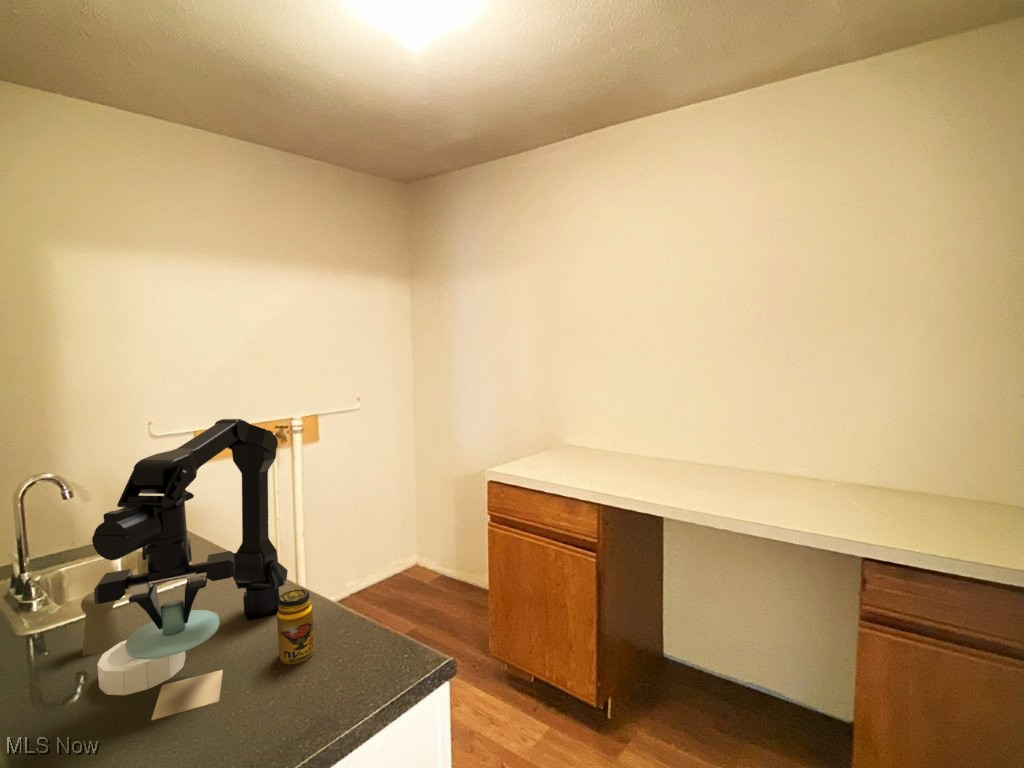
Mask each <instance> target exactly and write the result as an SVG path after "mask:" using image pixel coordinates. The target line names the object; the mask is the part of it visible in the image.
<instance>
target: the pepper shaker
mask: <svg viewBox="0 0 1024 768" xmlns="http://www.w3.org/2000/svg"><path fill="white" fill-rule="evenodd" d="M114 605H116V601H112V602H107V603H102V604H95V599H94V591H92V592H90V593H88V594H87V595H85V596H84V597H83V598H82V600H81V603H80V607H81V610H82V612H83V613H85V615H84V617H85V618H84V627H83V628H84V631H83V641H82V642H83V643H82V654H81V655H82V656H83V657H86V656H93V655H99V654H104V653H105V652H106V651H108V650H109V649H111V648H112V647H114V646H115V645H117V644H119V643H120V642H123V639H122V636H121V632H120V627H119V623H118V620H117V617H116V612H115V609H114Z"/></svg>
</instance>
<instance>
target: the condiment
mask: <svg viewBox="0 0 1024 768" xmlns="http://www.w3.org/2000/svg"><path fill="white" fill-rule="evenodd" d="M310 596H311V595H310V592H309V591H308V590H307V589H305V588H294V589H290V590H287V591H285V592H283V593H282V594H281V595H279V599H278V603H279V606H278V609H279V610H278V612H277V615H276V623H277V638H278V639H277V640H278V658H279V660H280V662H281V663H282V664H286V665H295V664H300V663H302V662H304V661H306V660H309V659H310V658H311V657H312V656H313V655H314V651H315V645H316V643H315V631H314V630H315V628H314V611H313V610H314V609H313V605H312V604H311V598H310Z"/></svg>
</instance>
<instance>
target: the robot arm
mask: <svg viewBox="0 0 1024 768" xmlns="http://www.w3.org/2000/svg"><path fill="white" fill-rule="evenodd" d="M278 446H279V440H278V438H277V436H276V434H274V433H273V431H272V430H269V429H266V428H262V427H261V426H260V427H259V426H257V425H254V424H251V423H249V422H247V421H246V420H244V419H241V418H222V419H220V420H217V421H216V422H215V423H214V424H213V425H212V426H211V427H208V429H206V430H204V431H203V432H201V433H200V434H198V435H196V436H195V437H193V438H191V439H190V440H188V441H186V442H184V444H182V445H180V446H179V447H176V448H174V449H171V450H168V451H163V452H159V453H154V454H153V455H149V456H148V457H144V458H142V459H140V460H139V461H137V463H135V465H134V466H133V470H132V472H131V474H130V476H129V478H128V480H127V483H126V484H125V487H124V489H123V491H122V493H121V496H120V498H119V500H118V502H117V504H116V505H117V508H119V509H116V510H111V511H107V512H105V513H104V514H103V521H102V522H101V523H100V524H99V525H97V527H96V528H95V530H94V532H93V536H92V537H91V541H92V547H93V549H94V550H95V551H96V553H97V555H99V556H100V557H101V558H103V559H105V560H108V561H116V560H120V559H121V558H123V557H126V556H128V555H129V554H132V553H134V552H136V551H137V550H140V549H141V557H142V560H143V561H146V566H147V567H146V568H147V572H145V573H138V574H134V572H133V569H132V568H128V569H122V570H116V571H111V572H106V573H104V574H103V576H102V577H101V578H100V579H99V581H97V584H96V585H95V587H94V589H93V592H94V599H95V604H102V603H107V602H112V601H115V602H116V601H120V600H121V599H122V598H124V596H125V595H126V593H127V591H126V590H128V591H129V597H128V602H129V603H131V604H132V603H137V604H138V606H140V607H141V608H142V609H143V610H144V611H145V612H146V613H147V615H148V616H149V617H150V619H151V621H153V622H154V623H155V625H156V626H157V627H158V629H162V620H161V608H160V607H161V604H160V600H159V599H160V598H159V596H158V586H157V585H158V584H160V583H166V582H171V581H177V580H181V579H186V583H185V588H184V600H183V601H184V623H187V622H188V619H189V615H190V611H191V610H192V606H193V604H194V601H195V599H196V598H197V597H196V596H197V594H198V593H199V590H201V589H204V588H206V587H207V583H208V580H210V581H211V582H215V581H221V580H226V579H230V578H231V579H233V581H234V582H235V586H236V587H237V589H239V590H240V589H245V592H244V593H243V596H242V597H243V601H242V602H243V614H244V616H245V617H246V621H248V622H250V621H254V620H259V619H263V618H267V617H272V616H277V612H278V610H279V609H278V606H279V603H278V599H279V597H280V587H283V586H285V585H286V584H285V582H286V581H287V579H288V569H287V568H286V567H284V565H282V563H280V562H279V560H278V559H279V558H278V551H277V548H276V547H275V546H274V544H273V542H271V540H270V538H269V537H270V536H269V470H270V468H271V467H272V465H273V464H274V462H275V460H276V458H277V448H278ZM226 449H228V450H230V451H231V455H232V461H233V463H234V464H235V466H236V468H237V470H238V471H240V473H241V533H242V535H241V537H242V539H241V540H242V541H241V544H240V545H239V547H238V549H237V550H236V552H232V551H231V550H228V551H221V552H216V553H210V554H207V559H206V561H204V562H198V563H194V564H190V563H191V562H192V560H193V557H192V554H193V553H192V545H191V539H188V530H187V529H188V528H187V516H186V504H185V502H187V501H190V500H192V499H193V498H194V497H195V495H194V493H192V492H190V491H188V490H186V489H187V487H189V486H190V485H191V484H192V483H193V482H194V480H196V478H197V474H198V470H199V469H200V468H201V467H202V466H204V465H205V464H206V463H208V462H209V461H210V460H212V459H213V458H215V457H216V456H218V455H219V454H221V452H223V451H224V450H226ZM140 494H143V495H140Z"/></svg>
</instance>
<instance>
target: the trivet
mask: <svg viewBox="0 0 1024 768" xmlns="http://www.w3.org/2000/svg"><path fill="white" fill-rule="evenodd" d="M223 671H224V669H220V670H216V671H212V672H207V673H205V674H201V675H197V676H196V675H195V676H193V677H189V678H185V679H181V680H178V681H173V682H169V683H165V684H162V685H161V687H160V690H159V693H158V697H157V700H156V704H155V707H154V710H153V712H152V716H151V720H150V721H155V720H158V719H162V718H166V717H168V716H173V715H175V714H179V713H182V712H187V711H190V710H195V709H198V708H201V707H205V706H208V705H212V704H216V703H219V702H220V696H221V688H222V681H223V673H224V672H223Z"/></svg>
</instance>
